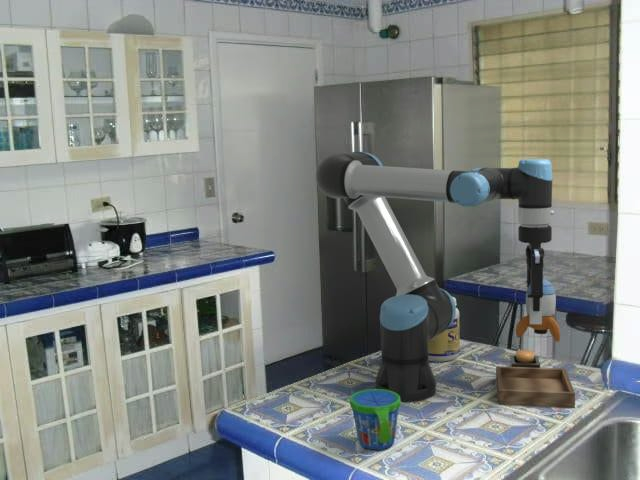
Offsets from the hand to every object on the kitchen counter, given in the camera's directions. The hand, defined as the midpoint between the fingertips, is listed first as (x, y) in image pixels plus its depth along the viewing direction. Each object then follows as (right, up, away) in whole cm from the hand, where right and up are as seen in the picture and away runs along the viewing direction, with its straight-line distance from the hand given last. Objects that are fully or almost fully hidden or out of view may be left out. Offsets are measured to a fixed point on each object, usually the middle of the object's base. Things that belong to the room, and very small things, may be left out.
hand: (534, 319), depth 169 cm
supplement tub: (-17, -15, +33) cm, 40 cm away
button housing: (+2, -16, +16) cm, 23 cm away
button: (+2, -12, +15) cm, 20 cm away
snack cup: (-40, -24, -21) cm, 51 cm away
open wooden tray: (+1, -18, +3) cm, 19 cm away
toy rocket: (0, -5, 0) cm, 4 cm away
